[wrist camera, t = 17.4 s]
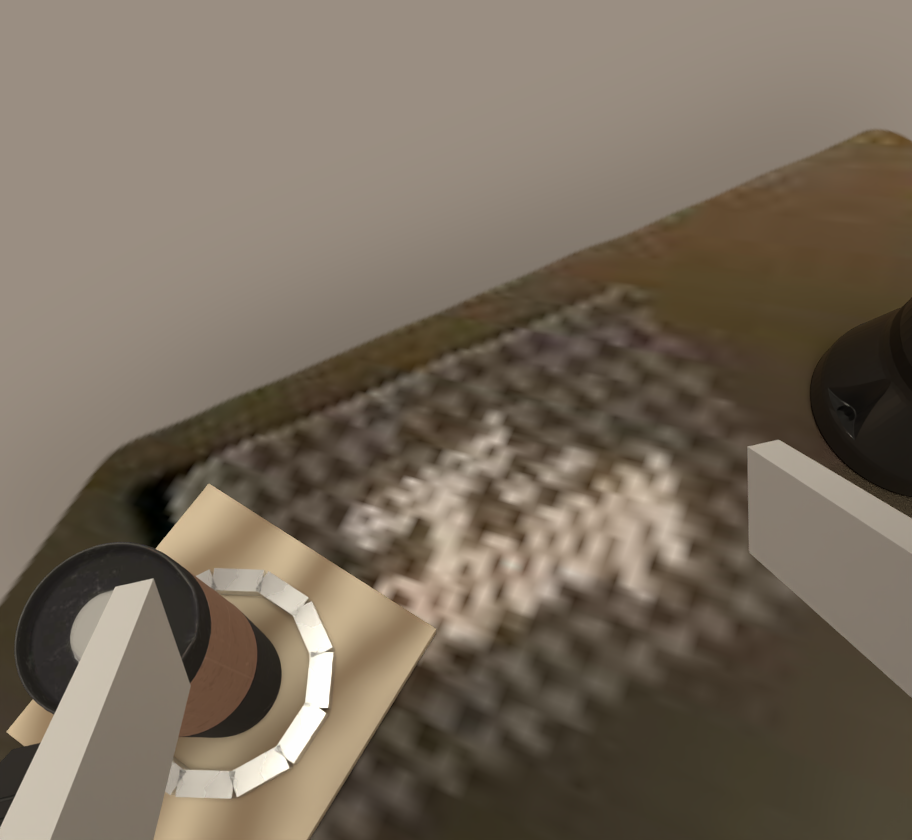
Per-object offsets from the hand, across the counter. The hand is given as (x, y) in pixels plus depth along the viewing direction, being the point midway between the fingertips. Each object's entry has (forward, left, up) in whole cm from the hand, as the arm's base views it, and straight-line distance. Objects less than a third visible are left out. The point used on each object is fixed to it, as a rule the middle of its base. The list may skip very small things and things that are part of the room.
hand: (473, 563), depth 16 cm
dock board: (+13, +7, -38) cm, 40 cm away
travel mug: (+13, +7, -36) cm, 39 cm away
